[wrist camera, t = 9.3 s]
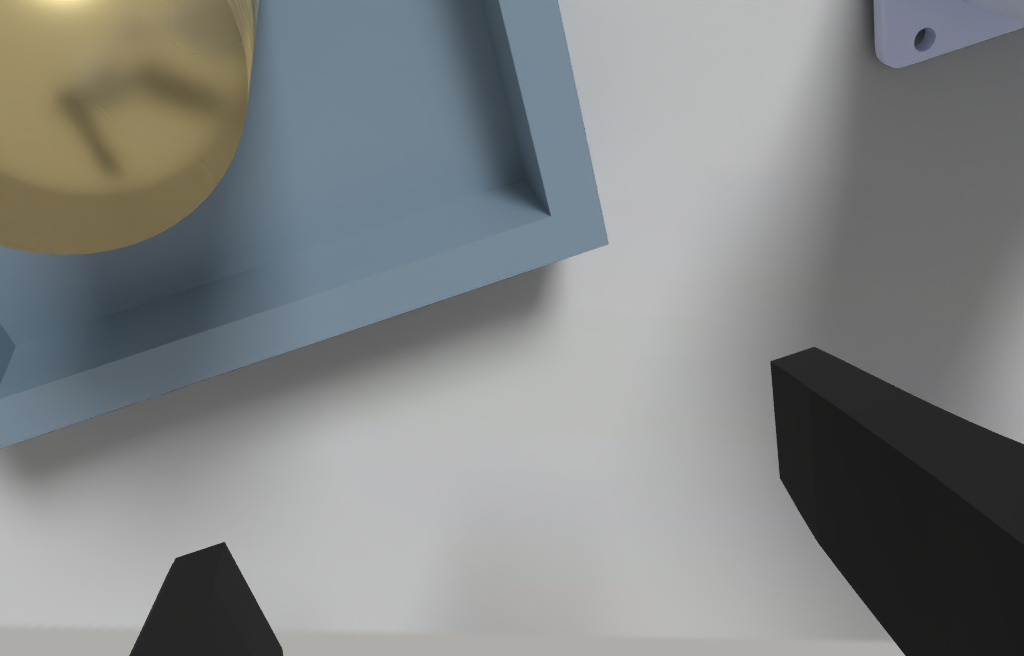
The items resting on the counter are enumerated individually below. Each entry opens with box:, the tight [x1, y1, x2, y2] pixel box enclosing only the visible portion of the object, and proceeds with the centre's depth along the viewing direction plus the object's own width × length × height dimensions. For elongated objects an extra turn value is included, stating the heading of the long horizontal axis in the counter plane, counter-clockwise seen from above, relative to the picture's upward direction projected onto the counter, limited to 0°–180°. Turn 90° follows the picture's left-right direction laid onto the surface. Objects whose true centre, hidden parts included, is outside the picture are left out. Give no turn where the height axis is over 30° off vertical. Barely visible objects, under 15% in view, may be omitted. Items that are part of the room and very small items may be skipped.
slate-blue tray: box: [0, 0, 609, 448], centre depth 16 cm, size 13×13×3 cm
